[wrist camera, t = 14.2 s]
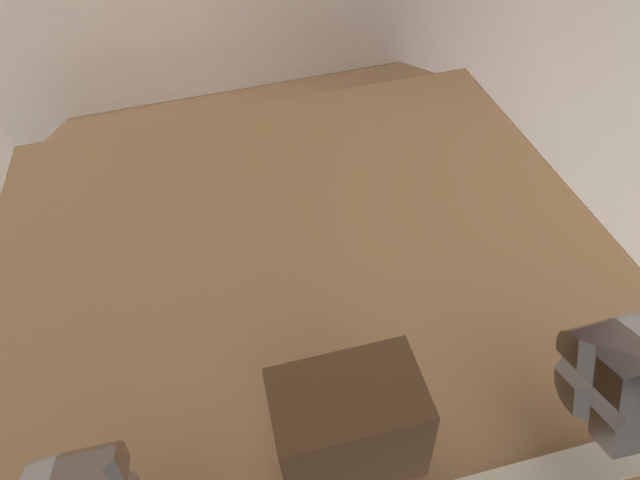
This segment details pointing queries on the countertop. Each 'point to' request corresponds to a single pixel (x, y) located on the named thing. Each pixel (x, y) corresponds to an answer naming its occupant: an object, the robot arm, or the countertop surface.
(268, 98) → the carton
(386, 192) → the lid flap
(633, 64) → the countertop surface
